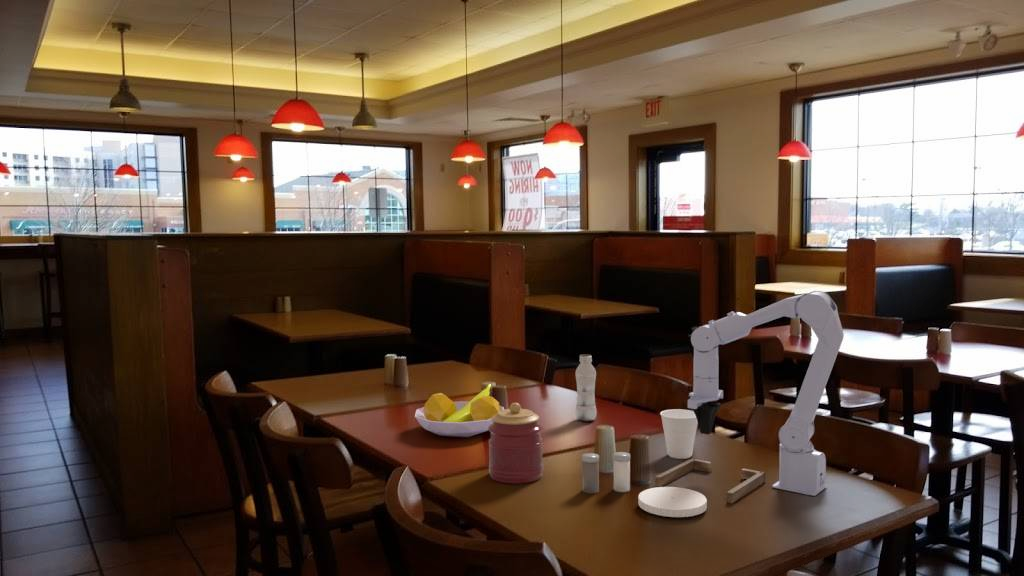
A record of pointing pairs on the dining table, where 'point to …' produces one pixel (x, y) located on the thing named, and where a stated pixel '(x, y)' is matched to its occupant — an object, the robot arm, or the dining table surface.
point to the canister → (515, 446)
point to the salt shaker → (621, 471)
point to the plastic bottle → (585, 389)
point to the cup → (679, 432)
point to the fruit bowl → (458, 414)
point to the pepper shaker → (590, 473)
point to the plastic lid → (672, 501)
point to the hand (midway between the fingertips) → (705, 433)
